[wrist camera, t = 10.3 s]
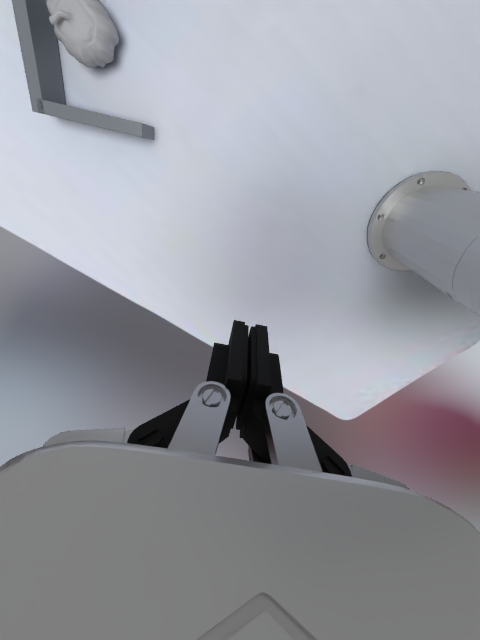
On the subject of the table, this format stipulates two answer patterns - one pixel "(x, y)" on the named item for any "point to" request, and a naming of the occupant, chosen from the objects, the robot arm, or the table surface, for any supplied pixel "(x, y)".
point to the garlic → (84, 30)
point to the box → (56, 72)
